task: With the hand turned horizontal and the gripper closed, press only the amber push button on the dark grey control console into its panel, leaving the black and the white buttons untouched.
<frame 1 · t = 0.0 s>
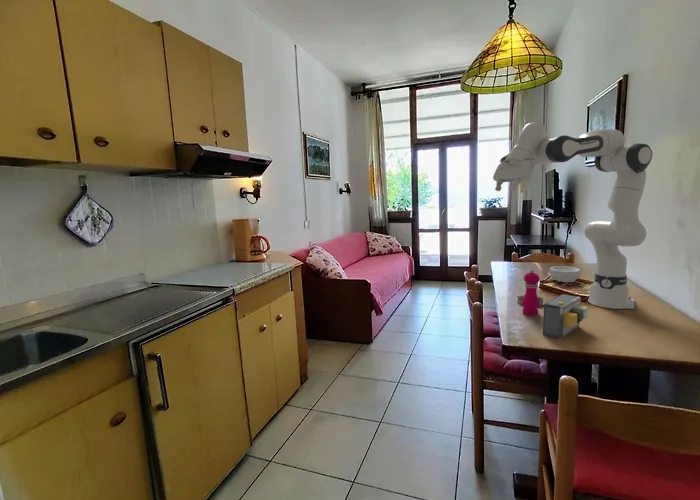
hand: (504, 190, 147), 54 cm above the table, tool tilted 30°, fingers open, 8 cm apart
amber button: (569, 319, 131), point 7 cm above the table, slide at 0.0 cm
white button: (579, 312, 138), point 7 cm above the table, slide at 0.0 cm
pepper mill: (530, 313, 159), on the table
black button: (574, 315, 134), point 7 cm above the table, slide at 0.0 cm
egg carton: (530, 304, 172), on the table
paper bowls: (564, 282, 210), on the table
console: (564, 331, 137), on the table
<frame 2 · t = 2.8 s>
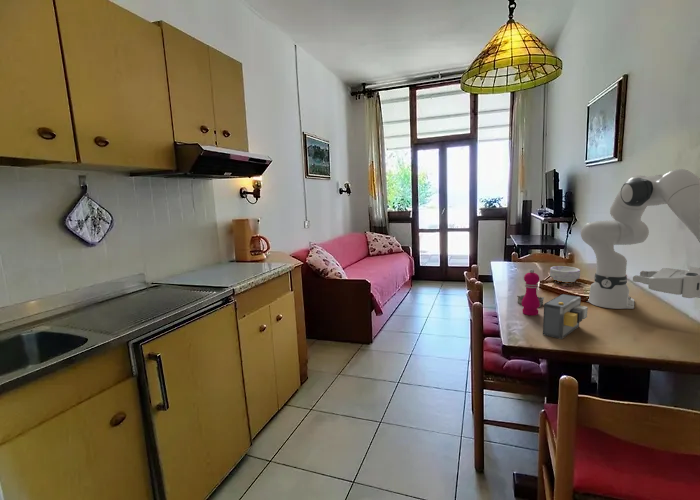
hand: (636, 275, 117), 25 cm above the table, tool horizontal, fingers open, 8 cm apart
nothing on the table moved.
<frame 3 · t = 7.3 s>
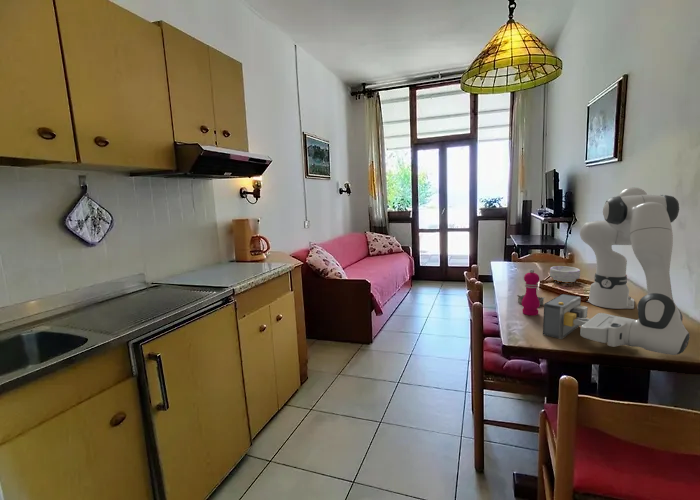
hand: (574, 320, 129), 7 cm above the table, tool horizontal, fingers closed, pressing on amber button
amber button: (568, 318, 131), point 7 cm above the table, slide at 0.3 cm, touching gripper
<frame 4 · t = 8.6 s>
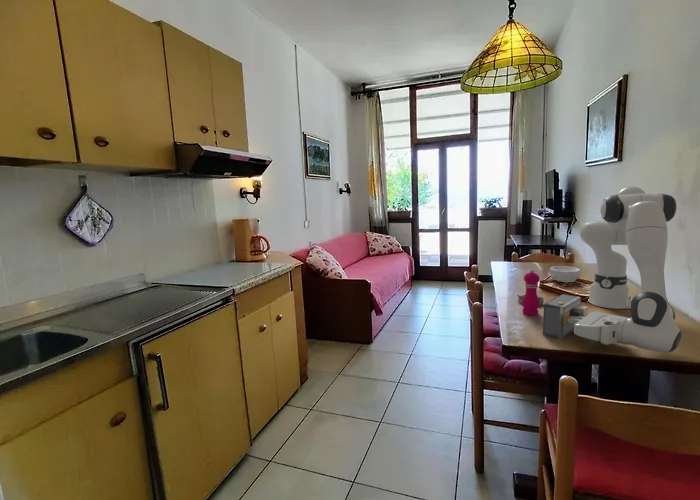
hand: (568, 318, 131), 7 cm above the table, tool horizontal, fingers closed
amber button: (561, 317, 133), point 7 cm above the table, slide at 2.6 cm
everything else where it was.
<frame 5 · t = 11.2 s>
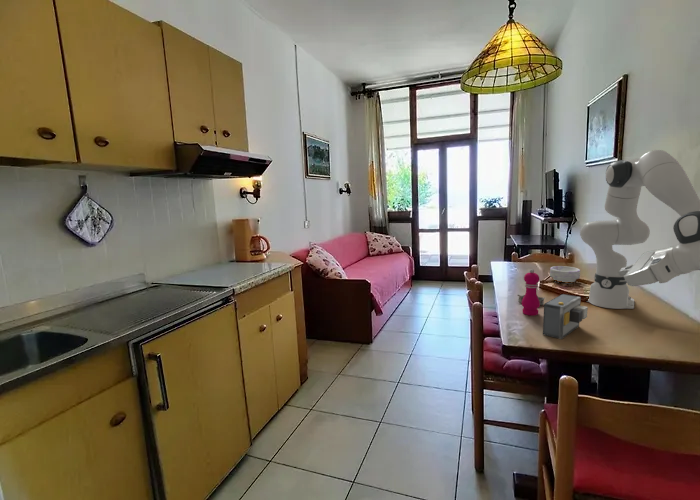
hand: (620, 272, 123), 25 cm above the table, tool tilted 65°, fingers closed
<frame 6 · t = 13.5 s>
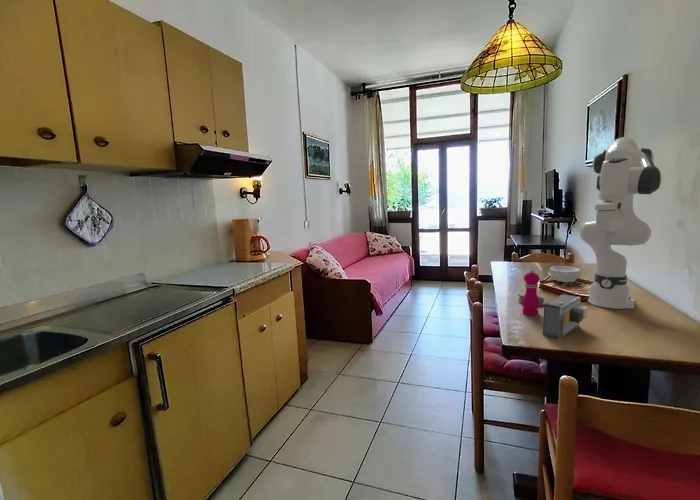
hand: (610, 242, 131), 34 cm above the table, tool pointing down, fingers closed
at the end: amber button slide at 2.6 cm; black button slide at 0.0 cm; white button slide at 0.0 cm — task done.
